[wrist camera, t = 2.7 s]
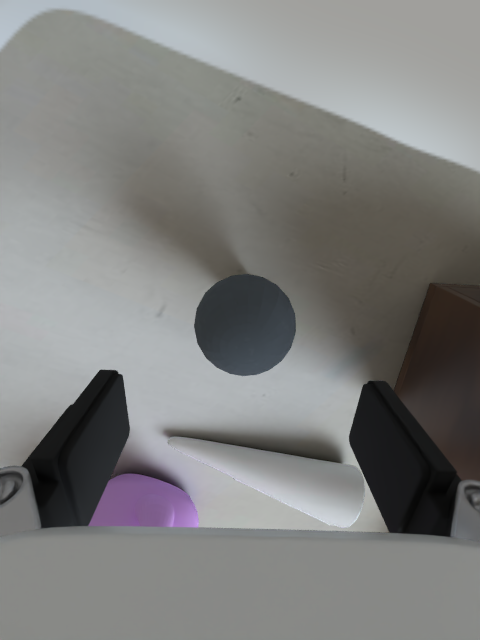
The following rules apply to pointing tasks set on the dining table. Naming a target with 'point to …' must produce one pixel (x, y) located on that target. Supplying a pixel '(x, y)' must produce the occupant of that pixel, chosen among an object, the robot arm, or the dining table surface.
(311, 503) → the long cone
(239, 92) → the dining table surface
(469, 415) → the chest
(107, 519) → the teapot
